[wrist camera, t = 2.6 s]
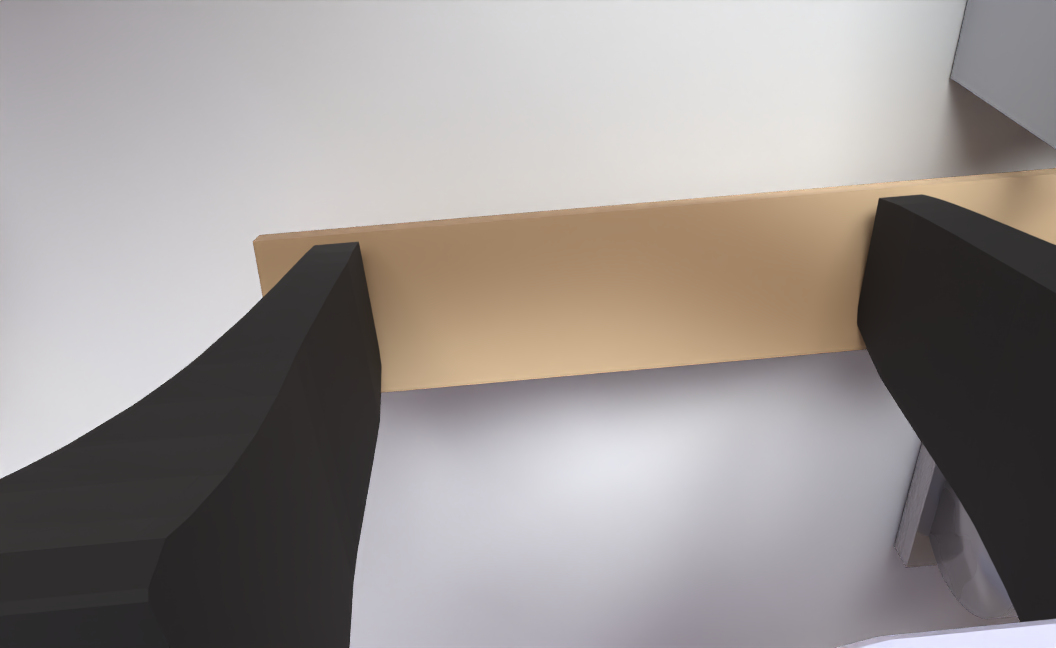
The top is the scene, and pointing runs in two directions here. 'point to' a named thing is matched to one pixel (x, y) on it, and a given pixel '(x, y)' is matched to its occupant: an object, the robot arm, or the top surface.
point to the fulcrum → (949, 543)
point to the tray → (1011, 60)
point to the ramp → (634, 279)
